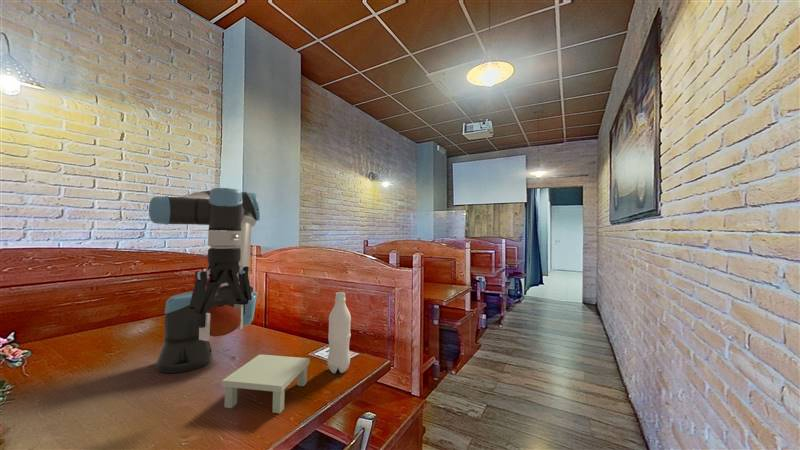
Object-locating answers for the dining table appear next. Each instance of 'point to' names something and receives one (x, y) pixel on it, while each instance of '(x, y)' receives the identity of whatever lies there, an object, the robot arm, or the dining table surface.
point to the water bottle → (339, 335)
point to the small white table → (266, 378)
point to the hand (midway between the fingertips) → (222, 333)
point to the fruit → (223, 319)
